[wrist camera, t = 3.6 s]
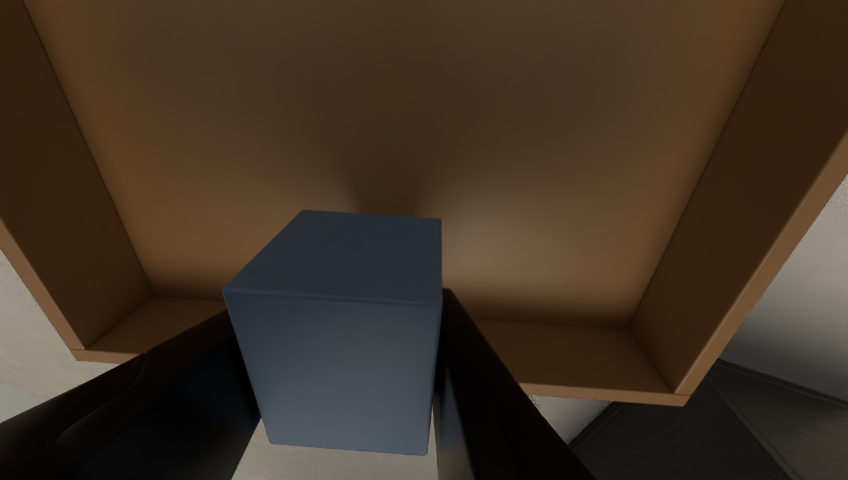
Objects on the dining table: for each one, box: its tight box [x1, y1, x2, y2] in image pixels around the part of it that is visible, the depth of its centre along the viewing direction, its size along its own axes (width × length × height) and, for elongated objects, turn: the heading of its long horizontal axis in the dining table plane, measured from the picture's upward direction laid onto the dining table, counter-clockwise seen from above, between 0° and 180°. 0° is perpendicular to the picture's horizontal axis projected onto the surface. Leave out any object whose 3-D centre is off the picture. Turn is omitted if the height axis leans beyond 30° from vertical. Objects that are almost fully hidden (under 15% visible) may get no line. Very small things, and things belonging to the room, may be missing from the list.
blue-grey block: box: [222, 210, 442, 456], centre depth 8 cm, size 4×4×3 cm
